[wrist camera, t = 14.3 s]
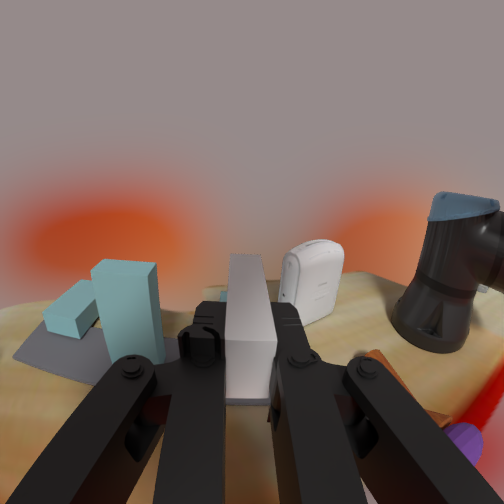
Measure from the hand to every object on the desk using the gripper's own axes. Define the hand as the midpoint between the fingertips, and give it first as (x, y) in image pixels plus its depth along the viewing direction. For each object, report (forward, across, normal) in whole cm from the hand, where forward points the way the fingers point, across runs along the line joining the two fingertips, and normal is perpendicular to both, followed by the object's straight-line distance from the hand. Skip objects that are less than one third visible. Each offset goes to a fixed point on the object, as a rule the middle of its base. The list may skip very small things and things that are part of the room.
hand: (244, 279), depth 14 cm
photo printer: (+22, +11, -18) cm, 30 cm away
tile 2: (+10, -11, -16) cm, 22 cm away
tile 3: (+11, -23, -14) cm, 30 cm away
